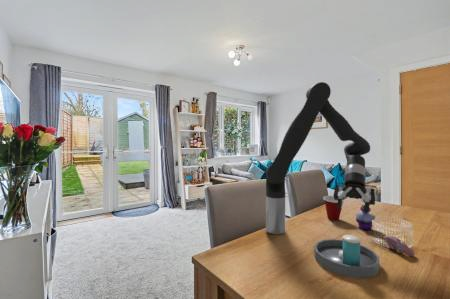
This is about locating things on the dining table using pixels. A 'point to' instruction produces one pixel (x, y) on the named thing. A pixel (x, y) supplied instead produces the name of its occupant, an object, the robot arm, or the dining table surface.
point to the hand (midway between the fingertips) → (352, 210)
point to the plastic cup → (332, 208)
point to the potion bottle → (365, 219)
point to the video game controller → (398, 245)
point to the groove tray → (333, 256)
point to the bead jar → (351, 250)
